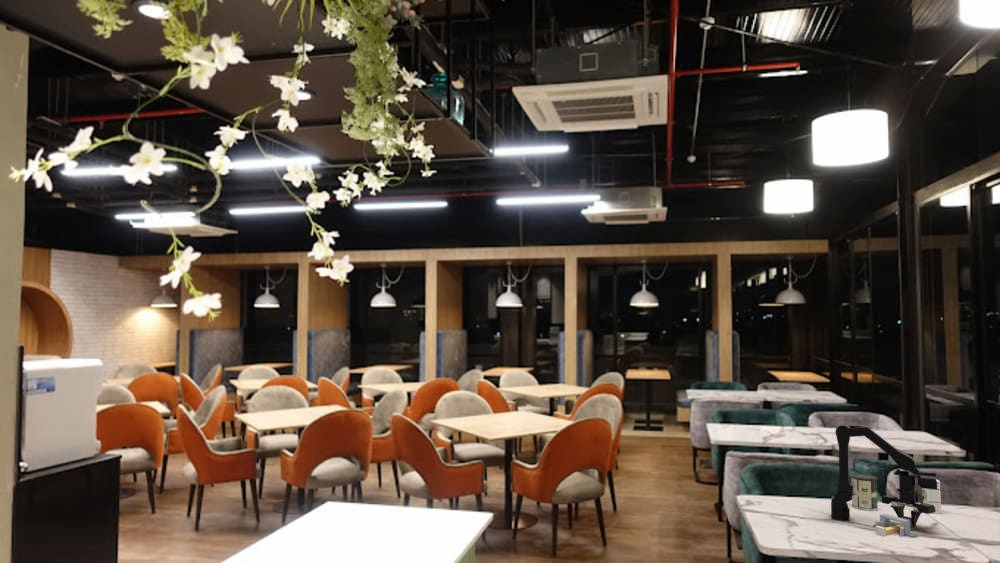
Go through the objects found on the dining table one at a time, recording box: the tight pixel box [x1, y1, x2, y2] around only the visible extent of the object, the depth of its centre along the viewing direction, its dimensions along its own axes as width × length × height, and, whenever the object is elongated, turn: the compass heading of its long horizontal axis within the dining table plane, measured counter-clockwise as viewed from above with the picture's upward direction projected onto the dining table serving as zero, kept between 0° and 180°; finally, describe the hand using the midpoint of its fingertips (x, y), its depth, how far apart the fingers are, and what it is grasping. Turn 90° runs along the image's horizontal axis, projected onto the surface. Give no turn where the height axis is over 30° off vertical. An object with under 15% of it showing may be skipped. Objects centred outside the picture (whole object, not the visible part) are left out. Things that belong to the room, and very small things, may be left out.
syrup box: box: [921, 478, 942, 515], centre depth 294 cm, size 6×6×14 cm
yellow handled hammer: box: [875, 515, 917, 537], centre depth 264 cm, size 22×4×4 cm, turn 120°
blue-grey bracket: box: [872, 513, 919, 538], centre depth 264 cm, size 6×16×5 cm, turn 29°
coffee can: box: [850, 473, 879, 511], centre depth 300 cm, size 10×10×14 cm
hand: (908, 525), depth 269 cm, fingers closed on yellow handled hammer, 4 cm apart
